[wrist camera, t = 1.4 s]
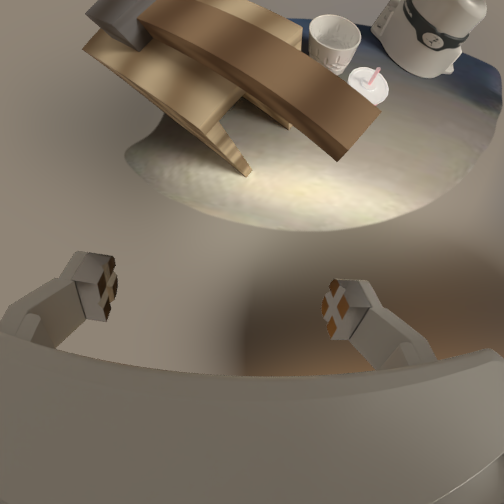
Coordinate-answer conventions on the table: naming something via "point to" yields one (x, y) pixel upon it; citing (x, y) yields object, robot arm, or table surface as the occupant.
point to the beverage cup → (369, 84)
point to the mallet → (247, 64)
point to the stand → (193, 78)
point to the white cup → (333, 41)
